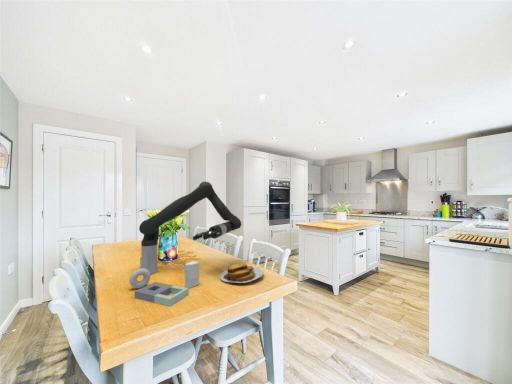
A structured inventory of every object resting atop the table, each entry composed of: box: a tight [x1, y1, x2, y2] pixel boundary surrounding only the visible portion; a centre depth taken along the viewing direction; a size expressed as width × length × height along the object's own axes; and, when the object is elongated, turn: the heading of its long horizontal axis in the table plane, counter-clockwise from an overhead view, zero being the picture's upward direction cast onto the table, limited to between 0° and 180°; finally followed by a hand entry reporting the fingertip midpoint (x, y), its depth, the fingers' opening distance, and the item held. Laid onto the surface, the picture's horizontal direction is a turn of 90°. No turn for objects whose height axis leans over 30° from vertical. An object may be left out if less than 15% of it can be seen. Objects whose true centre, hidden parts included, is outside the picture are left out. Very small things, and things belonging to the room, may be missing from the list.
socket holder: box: [134, 281, 190, 307], centre depth 102 cm, size 22×12×3 cm, turn 68°
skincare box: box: [184, 261, 200, 289], centre depth 114 cm, size 6×4×12 cm
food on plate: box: [219, 263, 264, 287], centre depth 126 cm, size 25×25×7 cm
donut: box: [129, 268, 151, 289], centre depth 112 cm, size 10×4×10 cm, turn 135°
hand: (198, 238), depth 121 cm, fingers open, 8 cm apart
